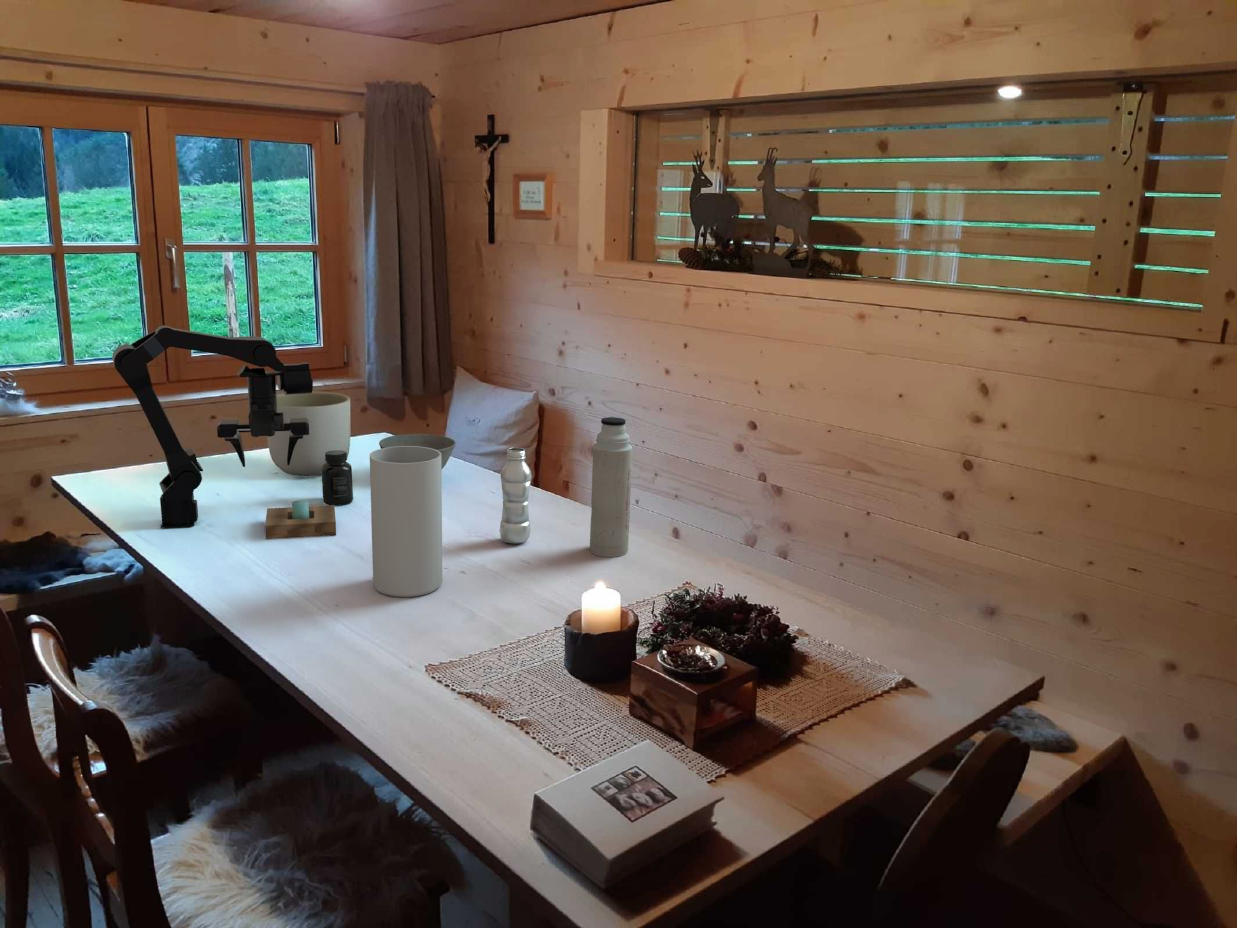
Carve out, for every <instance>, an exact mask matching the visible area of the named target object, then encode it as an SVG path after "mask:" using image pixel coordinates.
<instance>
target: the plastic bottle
mask: <svg viewBox="0 0 1237 928" xmlns="http://www.w3.org/2000/svg"><path fill="white" fill-rule="evenodd" d="M506 452H507V453H506V459H507V462H506V463H505V464H504V465H503V468H502V469H501V472H500V482H501V483H500V484H501V489H502V511H501V519H500V520H501V521H500V524H499V534H500V535H499V536H500V538H501V540H502V542H504V543H508V544H521V543H525V542H527V541H528V540H529V538H530V537H531V536H530V535H531V532H532V531H531V530H532V529H531V522H530V516H529V515H530V514H529V497H530V496H529V495H530V487H531V483H532V477H533V476H532V471H531V469H530V467H529V465H528V463H527V462H525V460H526V457H527V456H526V450H525V448H522V447H510V448H507V450H506Z"/></svg>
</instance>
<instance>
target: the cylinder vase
mask: <svg viewBox="0 0 1237 928" xmlns="http://www.w3.org/2000/svg"><path fill="white" fill-rule="evenodd" d="M442 470H443V469H442V466H441V452H439V451H438V450H435V449H432V448H427V447H418V446H397V447H388V448H382V449H381V448H379V449H376V450H373V451H372V452H370V454H369V479H370V483H369V484H370V513H371V514H370V515H371V516H370V517H371V518H370V519H371V520H370V522H371V552H372V553H371V555H372V557H371V559H372V581H373V582H372V584H373V587H374V589H376V591H378V592H379V593H381V594H383V595H386V596H390V597H396V598H397V597H398V598H410V597H411V598H413V597H420V596H425V595H427V594H431V593H433V592H435V591H436V590H438V589H439V588H440V587H441V586H442V584H443V502H442V500H443V496H442V495H443V492H442V490H443V489H442V488H443V487H442V485H443V484H442V483H443V482H442V477H443V476H442V475H443V474H442Z"/></svg>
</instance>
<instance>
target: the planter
mask: <svg viewBox="0 0 1237 928" xmlns="http://www.w3.org/2000/svg"><path fill="white" fill-rule="evenodd" d="M276 397H277V413H283V416H284V423H288V422H290V418H307V419H308V420H309V435H303V439H298V441H297V443H296V445H295V447H294V450H293V454H292V457H291V461H290V464H289V465H287V455H288V444H289V434H290V431H275V435H274V436H271V437H268V436H266V437H267V445H268V446H267V447H268V451H269V454H270V455H269V456H270V459H271V461H272V462H273V463H274V465H275V466H276V467H277V468H278V469H280V470H281V471H282V472H283V473H286V474H287V475H291V476H296V477H318V476H319V477H320V476H322V472H321V468H322V466H323V465H324V464H325V463H326V461H325V453H326V452H328V451H333V450H342V451H346V452H347V458H348V457H349V454H350V449H351V448H350V447H351V398H350V396H348V395H346V394H343V393H340V392H339V393H338V392H330V391H314V390H312V393H307V394H290V395H285V394H284V392H283V393H278V394H277V393H276Z"/></svg>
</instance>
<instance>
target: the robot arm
mask: <svg viewBox="0 0 1237 928" xmlns="http://www.w3.org/2000/svg"><path fill="white" fill-rule="evenodd" d="M169 348H176V349H181V350H188V351H196V352H200V353H201V352H202V353H209V354H213V355H214V354H215V355H221V356H228V357H230V358H233V359H236V360H239V361H240V362H244V363H247V364H250V365H253V366H256V367H250V366H248V365H247V364H243V366H242V367H240V369H239V370H238V371H237V372H236V375H238V377H240V378H246V379H247V394H248V395H247V396H248V410H249V411H248V412H249V413H248V415H247V416H248V423H239V420H238V419H221V420H220V421H219V422H218V423H217V428H216V433H217V434H216V436H217V438H221V439H224V441H225V442H230V443H231V445H232V446H233V448H234V450H235V451H236V454H237V456H238V458H239V461H240V464H241V465H242V467H243V468H245V467H246V457H245V453H244V446H243V439H242V435H241V433H250V436H251V437H253V438H258V437H267V436H268V437H271V436H274V435H275V431H290V434H289V444H288V455H287V465H289V464H290V461H291V457H292V454H293V450H294V447H295V445H296V443H297V441H298V439H303V435H309V420H308V419H307V418H290V422H288V423H284V416H283V413H277V397H276V395H277V388H278V390H279V391H283V393H284V394H285V395H290V394H307V393H312V391H314V381H313V378H312V372H311V370H310V364H309V363H308V362H307V361H306V362H299V363H285V364H284V362H283V361H282V360H280V358H278V356H277V350H276V347H275V345H273V343H271V342H270V341H269V340H267V339H266V338H264V337H262V336H232V337H231V336H223V335H216V334H213V333H212V334H210V333H205V332H204V333H203V332H199V331H193V330H192V331H191V330H187V329H182V328H181V329H180V328H175V327H171V326H170V325H160V326H157V328H155V330H153V331H152V332H150V333H148V334H146V335H144V336H142V337H140V338H139V339H137V340H135V341H134V342H132V343H130V344H122V345H119V346H118V347H116V348H115V350H114V351H113V353H112V356H111V358H112V360H111V361H112V362H113V365H114V368H115V370H116V371H117V372H118V374H119V375H120V377H121V378H122V379H123V381H124V382H125V383H126V385H128V387H129V388H130V390H131V391H132V392H133V394H134V395H135V396H136V399H137V400H138V402H139V404H140V407H141V408H142V411H143V412H144V415H145V417H146V418H147V421H148V423H149V425H150V427H151V428H152V431H153V432H154V435H155V437H156V439H157V442H158V443H159V445H160V447H161V449H162V451H163V455H164V459H165V462H166V467H167V470H168V473H167V475H166V476H164V478H163V479H161V481H160V482H159V487H160V490H161V493H162V494H161V495H160V497H159V502H160V503H159V504H160V515H161V524H160V528H161V529H169V528H170V529H171V528H172V529H173V528H190V527H194V526H195V524H196V522H197V521H198V519H199V510H198V500H197V499H195V496H194V491H195V490H196V489H198V487H199V486H200V485H201V483H202V481H203V477H202V473H201V472H204V469H203V467H202V465H201V464H200V462H199V461H198V459H197V456H196V453H195V451H194V450H193V448H192V447H190V448H188V449H185V447H184V446H183V445H182V444H181V442H180V440H179V438H178V437H177V435H176V432H175V430H174V429H173V427H172V424H171V422H170V420H169V418H168V416H167V413H166V412H165V409H164V408H163V406H162V403H161V402H160V400H159V397H158V396H157V394H156V391H155V389H154V387H153V383H152V378H151V374H150V370H149V367H148V364H149V363H150V362H152V361H153V360H155V359H156V358H157V357H159V356H160V355H162V353H163V352H165V351H166V350H168V349H169ZM266 367H268V368H270V369H272V370H265V368H266ZM276 384H277V385H276Z"/></svg>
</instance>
